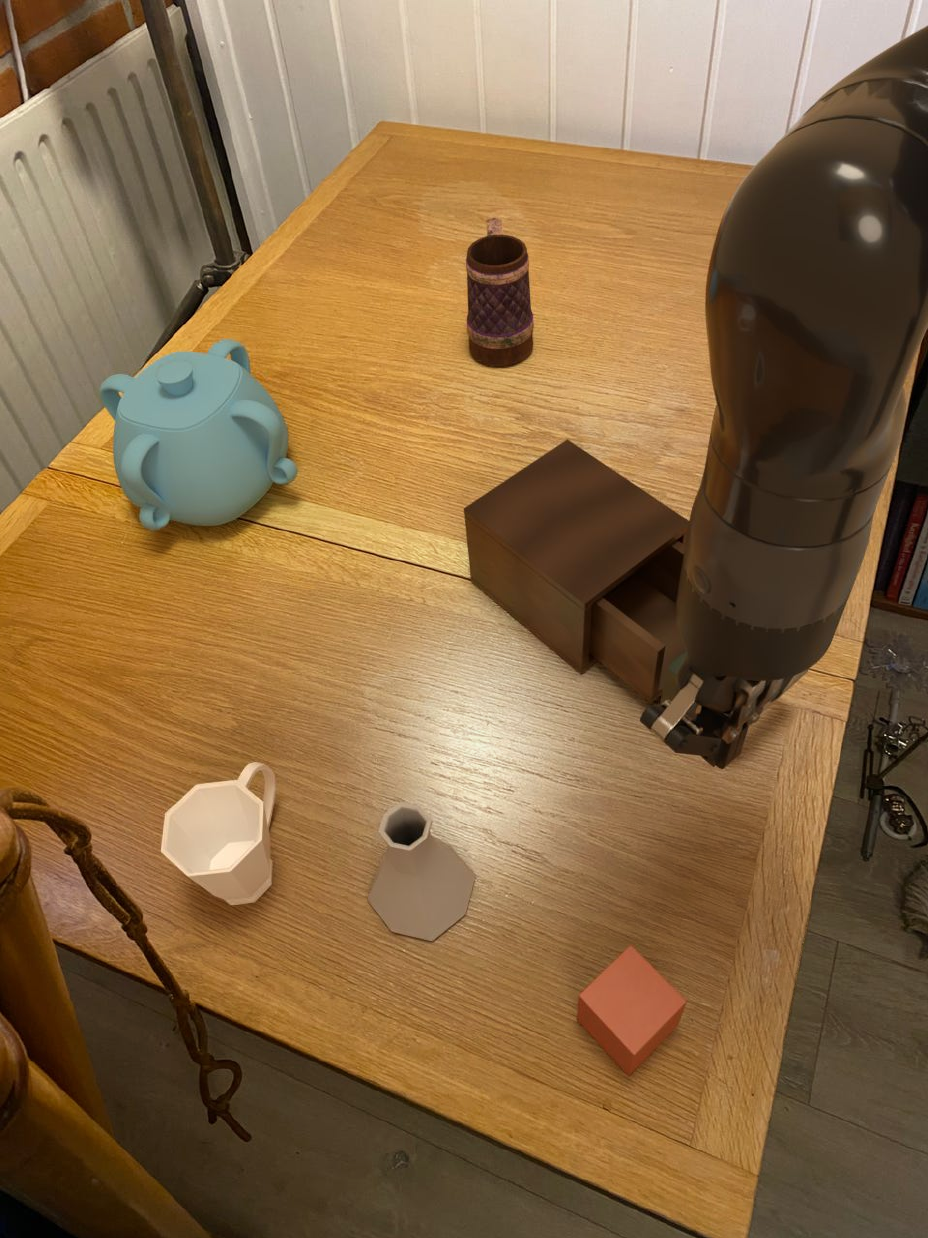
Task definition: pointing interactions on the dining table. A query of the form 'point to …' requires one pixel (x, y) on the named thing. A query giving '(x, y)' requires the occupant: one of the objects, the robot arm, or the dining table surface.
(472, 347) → the mug
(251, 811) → the cup
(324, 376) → the dining table surface
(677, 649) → the drawer
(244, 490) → the decorative pot
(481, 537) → the cabinet
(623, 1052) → the block
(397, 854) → the flask
